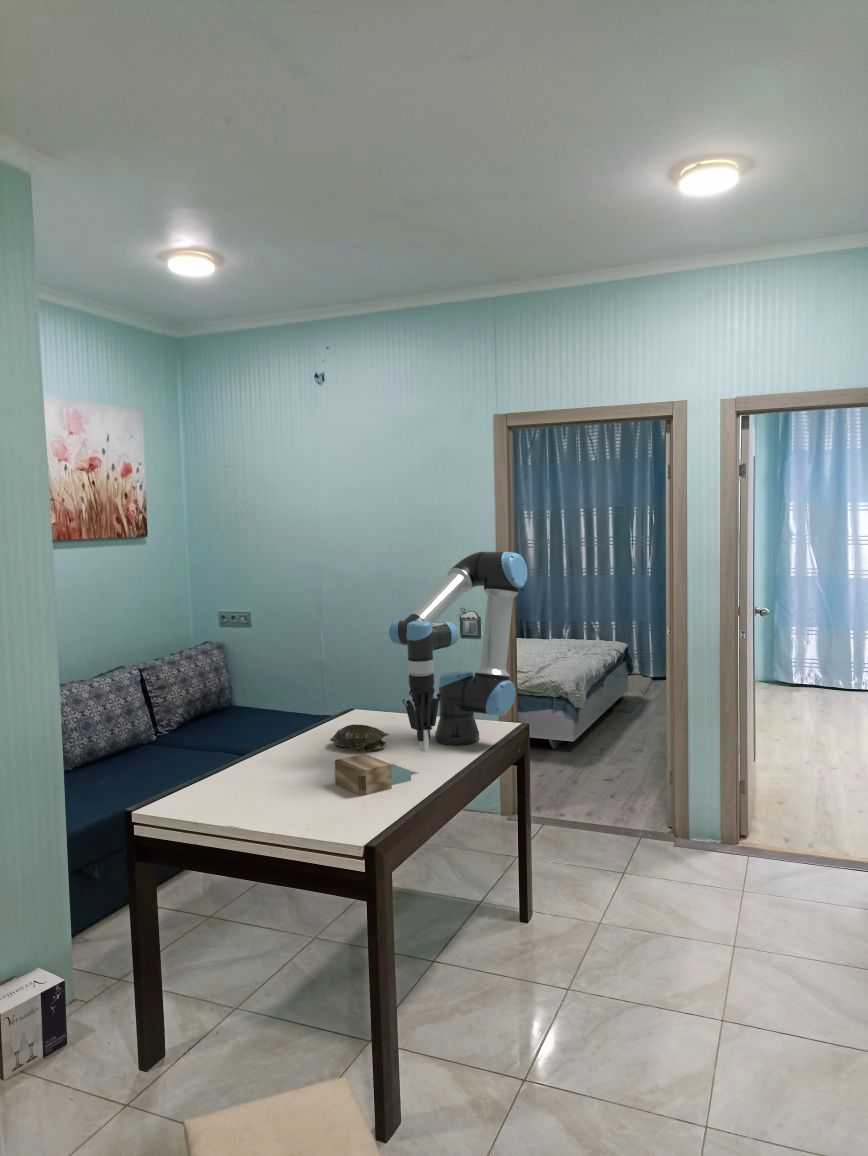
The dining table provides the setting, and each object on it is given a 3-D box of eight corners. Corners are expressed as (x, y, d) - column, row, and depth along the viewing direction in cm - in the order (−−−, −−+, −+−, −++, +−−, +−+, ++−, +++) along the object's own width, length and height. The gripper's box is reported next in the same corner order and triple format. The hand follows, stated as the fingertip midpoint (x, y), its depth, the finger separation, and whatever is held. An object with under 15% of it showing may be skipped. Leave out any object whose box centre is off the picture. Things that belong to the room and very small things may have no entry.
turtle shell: (346, 721, 299) (394, 716, 290) (350, 747, 299) (398, 743, 289) (318, 731, 285) (367, 726, 275) (322, 758, 285) (372, 754, 275)
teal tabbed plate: (393, 774, 257) (393, 764, 256) (411, 781, 249) (410, 770, 249) (353, 783, 248) (353, 773, 248) (370, 790, 241) (370, 780, 241)
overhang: (364, 777, 253) (364, 753, 253) (391, 788, 242) (391, 764, 242) (335, 783, 247) (334, 760, 247) (361, 796, 236) (361, 771, 236)
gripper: (431, 668, 262) (434, 743, 265) (395, 675, 255) (399, 752, 257) (446, 671, 256) (449, 749, 259) (410, 678, 249) (414, 758, 251)
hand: (424, 750), depth 258 cm, fingers closed
